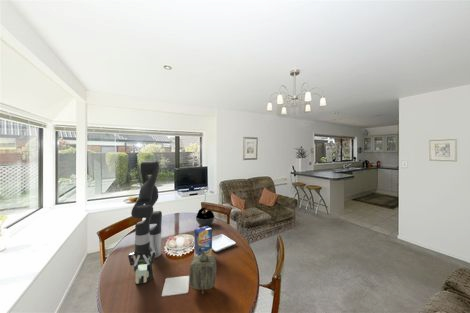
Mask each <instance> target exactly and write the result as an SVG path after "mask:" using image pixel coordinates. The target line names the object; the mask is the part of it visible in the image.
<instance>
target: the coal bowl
mask: <svg viewBox="0 0 470 313" xmlns="http://www.w3.org/2000/svg"><path fill="white" fill-rule="evenodd" d="M206 209H207V207H202V208H200V209H198V212H197V214H196V216H195V221H196V223H197V224H198V225H200V226H201V227H205V226H210V225H211V224H213V222H214V221H215V216H216V215H214V212H213V211H212V210H210V209H207V210H206ZM205 210H206V211H205ZM204 211H205V212H204Z"/></svg>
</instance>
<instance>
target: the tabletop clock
mask: <svg viewBox="0 0 470 313" xmlns="http://www.w3.org/2000/svg"><path fill="white" fill-rule="evenodd" d="M200 248H207V249H208V250H209V248H208V247H199V248H198V249H200ZM198 249H197V252H198ZM209 251H210V250H209ZM198 253H199V254H201V255H199V256H195V257H194V256H193V258H192V261H191V263H190V267H189V272H188V276H189V287H190V288H192V289H193V290H201V291H200V294H201V295H204V294H205V291H204V290H209V289H212V288H214V287H215V283H216V277H217V268H218V267H217V259H216V256H214V255H212V256H210V255H206V254H207V253H209V252H206V253H204V251H203V253H200V252H198Z"/></svg>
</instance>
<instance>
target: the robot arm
mask: <svg viewBox="0 0 470 313" xmlns="http://www.w3.org/2000/svg"><path fill="white" fill-rule="evenodd" d="M139 170H140V177H141V180H142V186H140V188H139V194H138V198H137V200H136V201H135V204H134V205H133V206H132V209H131V212H130V213H131V217H132V218H133V219H144V220H141V221H138V222H136V224H135V226H134V227H135V233H134V234H135V235H134V252H130V253H128V256H127V257H128V262H129V265H130V266H133V271H134V273H135V274H136V269H137V268H138V264H137V263H138V261H139V260H145V261H146V262H147V271H149V270H150V268H151V263H152V264H154V261H155V259H156V258H159V257H160V256H161V255H162V219H163V214H162V213H163V212H162V211H161V210H156V211H155V210H154V205H155V204H156V203H157V201H158V199H159V189H158V187H157V186H156V181H157V178H158V176H159V173H160V172H159V171H160V164H159V162H158V161H157V160H144V161H143V160H142V161H141V162H140V166H139ZM151 225H154V226H152V227H150V226H151ZM150 247H151V248H152V251H151V250H150ZM150 254H151V256H152V260H150V257H149V255H150ZM135 257H136V258H137V259H136V260H135Z"/></svg>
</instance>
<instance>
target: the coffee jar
mask: <svg viewBox="0 0 470 313" xmlns="http://www.w3.org/2000/svg"><path fill="white" fill-rule="evenodd" d="M150 250H151V251H152V248H151V247H150ZM149 257H150V260H152V256H151V254H150V255H149ZM136 259H137V258H136V257H135V256H134V261H136ZM137 264H138V265H143V264H147V262H146V261H145V260H139V261H138V263H137ZM152 264H153V263H151V268H150V270H149V276H148V278H147V281H146V282H145V283H148V282H150V281H152V279H153V278H154V273H153V265H152ZM134 280H135V283H136V275H135V279H134ZM141 284H144V276H141V278H140V279H139V283H137V285H141Z"/></svg>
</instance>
